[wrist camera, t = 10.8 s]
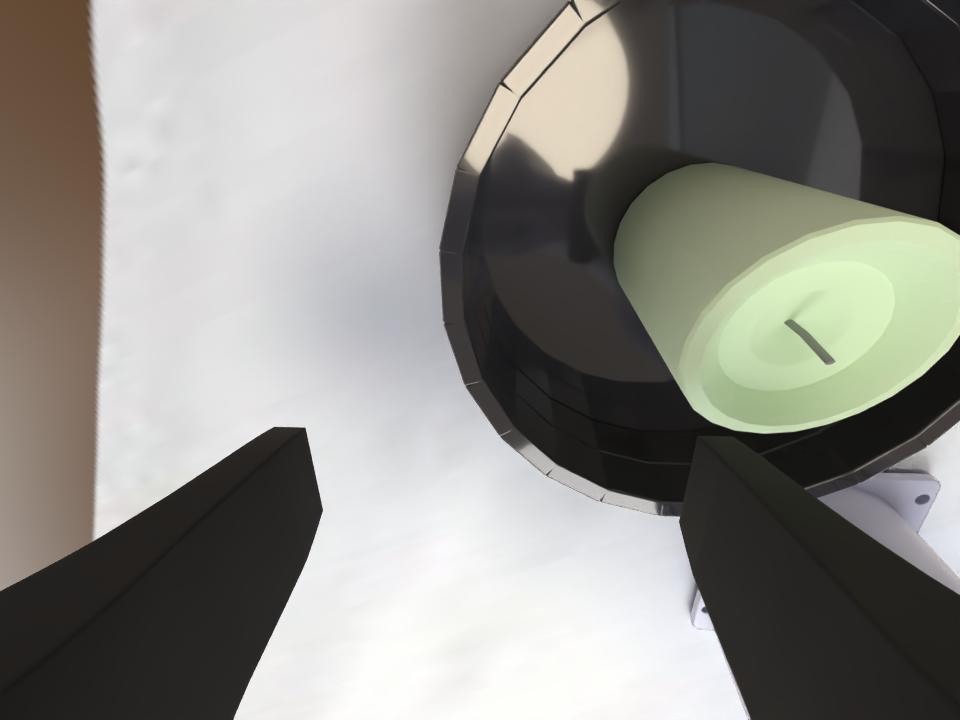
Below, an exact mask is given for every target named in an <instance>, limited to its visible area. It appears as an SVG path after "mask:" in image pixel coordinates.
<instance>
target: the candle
mask: <svg viewBox="0 0 960 720" xmlns="http://www.w3.org/2000/svg"><path fill="white" fill-rule="evenodd" d="M614 267H615V271H616V275H617V278H618V282H619V284H620V286H621V287H622V289H623V291H624V293H625V294H626V296H627V298H628V299H629V301H630V303H631V305H632V306H633V308H634V310H635V311H636V313H637V315H638V317H639V318H640V320H641V322H642V323H643V325H644V327H645V329H646V330H647V332H648V334H649V335H650V337H651V339H652V341H653V342H654V344H655V346H656V347H657V349H658V351H659V353H660V354H661V356H662V358H663V360H664V361H665V363H666V365H667V366H668V368H669V370H670V372H671V373H672V375H673V377H674V378H675V380H676V382H677V384H678V385H679V387H680V389H681V390H682V392H683V394H684V395H685V397H686V398H687V400H688V402H689V403H690V405H691V406H692V408H693V409H694V410H695V411H696V412H698V413H699V414H701V415H702V416H703V417H705V418H706V419H707V420H709V421H710V422H712V423H715V424H718V425H720V426H723V427H726V428H729V429H732V430H736V431H745V432H754V433H763V434H766V433H782V432H795V431H800V430H805V429H809V428H814V427H819V426H823V425H827V424H830V423H833V422H836V421H839V420H841V419H844V418H847V417H850V416H852V415H855V414H858V413H861V412H862V411H864V410H866V409H868V408H870V407H872V406H874V405H876V404H878V403H880V402H882V401H884V400H886V399H888V398H890V397H892V396H893V395H895V394H896V393H898V392H899V391H901V390H902V389H903V388H905V387H906V386H908V385H909V384H911V383H912V382H914V381H915V380H916V379H918V378H919V377H921V376H922V375H923V374H924V373H925V372H926V371H928V370H929V369H930V368H931V367H932V366H933V365H934V364H935V363H936V362H937V361H938V360H939V359H940V358H941V357H942V356H943V355H944V354H945V353H946V352H948V351H949V349H950V348H951V347H952V345H953V344H954V342H955V341H956V340H957V338H958V337H959V335H960V235H958V234H956V233H955V232H953V231H952V230H950V229H948V228H947V227H945V226H943V225H942V224H940V223H938V222H935V221H931V220H928V219H924V218H920V217H917V216H913V215H909V214H906V213H902V212H899V211H895V210H891V209H888V208H884V207H880V206H877V205H873V204H870V203H866V202H862V201H859V200H855V199H851V198H848V197H844V196H840V195H837V194H833V193H830V192H826V191H822V190H819V189H815V188H811V187H808V186H804V185H801V184H797V183H793V182H790V181H786V180H782V179H779V178H775V177H771V176H768V175H764V174H761V173H757V172H753V171H750V170H746V169H742V168H739V167H735V166H730V165H724V164H719V163H703V164H693V165H688V166H685V167H683V168H680V169H677V170H674V171H672V172H669V173H667V174H665V175H664V176H662V177H661V178H659V179H658V180H656V181H655V182H653V183H652V184H650V185H649V186H647V187H646V188H645V190H644V191H643V192H642V193H641V194H640V195H639V196H638V197H637V198H636V199H635V200H634V201H633V202H632V203H631V205H630V207H629V208H628V210H627V212H626V214H625V215H624V217H623V219H622V220H621V222H620V225H619V228H618V232H617V235H616V239H615V242H614Z"/></svg>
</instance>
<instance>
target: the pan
mask: <svg viewBox="0 0 960 720" xmlns="http://www.w3.org/2000/svg"><path fill="white" fill-rule="evenodd" d="M703 163H719V164H724V165H730V166H735V167H739V168H742V169H746V170H750V171H753V172H757V173H761V174H764V175H768V176H771V177H775V178H779V179H782V180H786V181H790V182H793V183H797V184H801V185H804V186H808V187H811V188H815V189H819V190H822V191H826V192H830V193H833V194H837V195H840V196H844V197H848V198H851V199H855V200H859V201H862V202H866V203H870V204H873V205H877V206H880V207H884V208H888V209H891V210H895V211H899V212H902V213H906V214H909V215H913V216H917V217H920V218H924V219H928V220H931V221H935V222H938V223H940V224H942V225H943V226H945V227H947V228H948V229H950V230H952V231H953V232H955V233H956V234H958V235H960V0H570V1H568V2H566V4H565V5H564V6H563V7H562V8H561V9H560V11H559V12H558V13H557V14H556V15H555V17H554V18H553V19H552V20H551V21H550V22H549V24H548V25H547V26H546V27H545V28H544V29H543V31H542V32H541V33H540V34H539V35H538V36H537V38H536V39H535V40H534V41H533V42H532V43H531V45H530V46H529V47H528V48H527V49H526V50H525V52H524V53H523V54H522V55H521V56H520V57H519V59H518V60H517V61H516V62H515V63H514V65H513V66H512V67H511V68H510V69H509V70H508V72H507V73H506V74H505V75H504V76H503V77H502V79H501V81H500V82H499V83H498V85H497V87H496V89H495V91H494V93H493V95H492V97H491V99H490V101H489V103H488V105H487V107H486V109H485V111H484V113H483V115H482V117H481V119H480V121H479V123H478V125H477V127H476V129H475V131H474V133H473V135H472V137H471V139H470V141H469V143H468V145H467V147H466V149H465V151H464V153H463V155H462V157H461V159H460V161H459V163H458V165H457V169H456V171H455V176H454V181H453V186H452V190H451V195H450V200H449V204H448V209H447V214H446V219H445V223H444V228H443V233H442V238H441V242H440V247H439V249H440V252H439V258H440V275H441V293H442V310H443V321H444V327H445V330H446V333H447V336H448V339H449V341H450V344H451V347H452V350H453V353H454V356H455V359H456V362H457V365H458V368H459V371H460V373H461V376H462V379H463V382H464V384H465V385H466V388H467V390H468V391H469V393H470V394H471V396H472V397H473V398H474V400H475V401H476V403H477V404H478V406H479V407H480V409H481V410H482V411H483V413H484V414H485V416H486V417H487V419H488V420H489V421H490V423H491V424H492V426H493V427H494V429H495V430H496V432H497V433H498V434H499V436H501V438H502V439H503V440H504V441H505V442H506V443H508V444H509V445H510V446H511V447H512V448H514V449H515V450H516V451H517V452H518V453H520V454H521V455H522V456H523V457H524V458H525V459H527V460H528V461H529V462H530V463H531V464H533V465H534V466H535V467H536V468H537V469H539V470H540V471H541V472H542V473H543V474H544V475H546V476H548V477H550V478H552V479H554V480H556V481H558V482H560V483H562V484H564V485H566V486H568V487H570V488H572V489H574V490H576V491H578V492H580V493H582V494H584V495H586V496H588V497H590V498H592V499H594V500H597V501H601V502H603V503H607V504H612V505H616V506H620V507H624V508H629V509H633V510H637V511H641V512H645V513H650V514H654V515H660V516H675V517H680V515H681V511H682V506H683V501H684V497H685V492H686V488H687V483H688V478H689V474H690V469H691V464H692V460H693V455H694V450H695V446H696V441H697V436H722V437H734V438H736V439H737V440H739V441H740V442H742V443H743V444H745V445H746V446H747V447H749V448H750V449H752V450H753V451H754V452H756V453H757V454H758V455H760V456H761V457H762V458H764V459H765V460H766V461H768V462H769V463H771V464H772V465H773V466H775V467H776V468H777V469H779V470H780V471H781V472H783V473H784V474H785V475H787V476H788V477H789V478H791V479H792V480H793V481H795V482H796V483H797V484H799V485H800V486H801V487H803V488H804V489H805V490H807V491H808V492H809V493H811V494H812V495H813V496H815V497H816V498H820V497H823V496H826V495H829V494H831V493H834V492H837V491H840V490H843V489H846V488H849V487H852V486H855V485H858V484H859V483H862V482H864V481H866V480H868V479H870V478H871V477H873V476H875V475H877V474H879V473H880V472H882V471H884V470H886V469H888V468H890V467H891V466H893V465H895V464H897V463H899V462H901V461H902V460H904V459H906V458H908V457H910V456H911V455H913V454H915V453H917V452H919V451H921V450H922V449H924V448H926V447H927V445H930V444H932V443H933V442H934V441H935V440H937V439H938V438H939V437H940V436H942V435H943V434H944V433H945V432H947V431H948V430H949V429H950V428H952V427H953V426H954V425H955V424H957V423H958V422H959V421H960V335H959V337H958V338H957V340H956V341H955V342H954V344H953V345H952V347H951V348H950V349H949V351H948V352H946V353H945V354H944V355H943V356H942V357H941V358H940V359H939V360H938V361H937V362H936V363H935V364H934V365H933V366H932V367H931V368H930V369H929V370H928V371H926V372H925V373H924V374H923V375H922V376H921V377H919V378H918V379H916V380H915V381H914V382H912V383H911V384H909V385H908V386H906V387H905V388H903V389H902V390H901V391H899V392H898V393H896V394H895V395H893V396H892V397H890V398H888V399H886V400H884V401H882V402H880V403H878V404H876V405H874V406H872V407H870V408H868V409H866V410H864V411H862V412H861V413H858V414H855V415H852V416H850V417H847V418H844V419H841V420H839V421H836V422H833V423H830V424H827V425H823V426H819V427H814V428H809V429H805V430H800V431H795V432H782V433H766V434H763V433H754V432H745V431H736V430H732V429H729V428H726V427H723V426H720V425H718V424H715V423H712V422H710V421H709V420H707V419H706V418H705V417H703V416H702V415H701V414H699V413H698V412H696V411H695V410H694V409H693V408H692V406H691V405H690V403H689V402H688V400H687V398H686V397H685V395H684V394H683V392H682V390H681V389H680V387H679V385H678V384H677V382H676V380H675V378H674V377H673V375H672V373H671V372H670V370H669V368H668V366H667V365H666V363H665V361H664V360H663V358H662V356H661V354H660V353H659V351H658V349H657V347H656V346H655V344H654V342H653V341H652V339H651V337H650V335H649V334H648V332H647V330H646V329H645V327H644V325H643V323H642V322H641V320H640V318H639V317H638V315H637V313H636V311H635V310H634V308H633V306H632V305H631V303H630V301H629V299H628V298H627V296H626V294H625V293H624V291H623V289H622V287H621V286H620V284H619V282H618V278H617V275H616V271H615V267H614V242H615V239H616V235H617V232H618V228H619V225H620V222H621V220H622V219H623V217H624V215H625V214H626V212H627V210H628V208H629V207H630V205H631V203H632V202H633V201H634V200H635V199H636V198H637V197H638V196H639V195H640V194H641V193H642V192H643V191H644V190H645V188H646V187H647V186H649V185H650V184H652V183H653V182H655V181H656V180H658V179H659V178H661V177H662V176H664V175H665V174H667V173H669V172H672V171H674V170H677V169H680V168H683V167H685V166H688V165H693V164H703Z"/></svg>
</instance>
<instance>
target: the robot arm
mask: <svg viewBox="0 0 960 720" xmlns="http://www.w3.org/2000/svg"><path fill="white" fill-rule="evenodd" d="M940 487H941V485H940V482H939V481H938V480H937V479H935V478H934V477H933V476H932V475H929V474H912V473H879V474H877V475H875V476H873V477H871V478H870V479H868V480H866V481H864V482H862V483H859V484H858V485H855V486H852V487H849V488H846V489H843V490H840V491H837V492H834V493H831V494H829V495H826V496H823V497H820V498H816V497H815V496H813V495H812V494H811V493H809V492H808V491H807V490H805V489H804V488H803V487H801V486H800V485H799V484H797V483H796V482H795V481H793V480H792V479H791V478H789V477H788V476H787V475H785V474H784V473H783V472H781V471H780V470H779V469H777V468H776V467H775V466H773V465H772V464H771V463H769V462H768V461H766V460H765V459H764V458H762V457H761V456H760V455H758V454H757V453H756V452H754V451H753V450H752V449H750V448H749V447H747V446H746V445H745V444H743V443H742V442H740V441H739V440H737V439H736V438H734V437H722V436H697V441H696V446H695V450H694V455H693V460H692V464H691V469H690V474H689V478H688V483H687V488H686V492H685V497H684V501H683V506H682V511H681V515H680V520H679V523H680V527H681V531H682V535H683V539H684V543H685V547H686V551H687V555H688V558H689V562H690V566H691V569H692V573H693V576H694V579H695V581H696V584H697V587H698V589H697V593H696V597H695V601H694V605H693V609H692V613H691V622H692V625H693V626H694V627H695V628H697V629H700V630H714V631H715V633H716V636H717V639H718V641H719V644H720V647H721V649H722V652H723V655H724V657H725V660H726V663H727V665H728V668H729V670H730V673H731V676H732V678H733V681H734V684H735V686H736V689H737V692H738V694H739V697H740V700H741V702H742V705H743V708H744V710H745V713H746V716H747V718H748V720H960V578H959V577H958V576H957V575H956V574H955V573H954V572H953V571H952V570H951V569H950V568H949V567H948V566H947V565H946V563H945V562H944V561H943V560H942V559H941V558H940V557H939V556H938V555H937V554H936V553H935V552H934V551H933V550H932V549H931V548H930V546H929V545H928V544H927V543H926V542H925V541H924V540H923V539H922V538H921V537H920V536H919V535H918V534H917V533H918V531H919V529H920V527H921V525H922V523H923V521H924V520H925V518H926V516H927V514H928V512H929V510H930V508H931V506H932V504H933V502H934V500H935V498H936V496H937V494H938V492H939V490H940ZM322 512H323V508H322V504H321V499H320V494H319V489H318V485H317V480H316V475H315V471H314V466H313V461H312V457H311V452H310V447H309V443H308V438H307V433H306V429H305V428H297V427H273V428H272V429H270V430H268V431H266V432H264V433H263V434H261V435H260V436H258V437H256V438H255V439H253V440H252V441H250V442H248V443H247V444H245V445H244V446H242V447H241V448H239V449H238V450H236V451H235V452H233V453H232V454H230V455H229V456H227V457H226V458H224V459H223V460H221V461H220V462H218V463H217V464H215V465H214V466H212V467H211V468H209V469H208V470H206V471H205V472H203V473H202V474H200V475H199V476H197V477H196V478H194V479H193V480H191V481H190V482H188V483H187V484H185V485H184V486H182V487H181V488H179V489H178V490H176V491H175V492H173V493H171V494H170V495H168V496H167V497H165V498H164V499H162V500H160V501H159V502H157V503H155V504H154V505H152V506H151V507H149V508H147V509H146V510H144V511H142V512H141V513H139V514H138V515H136V516H134V517H133V518H131V519H129V520H128V521H126V522H125V523H123V524H121V525H120V526H118V527H116V528H115V529H113V530H112V531H110V532H108V533H107V534H105V535H103V536H102V537H100V538H98V539H96V540H95V541H93V542H91V543H90V544H88V545H86V546H84V547H83V548H81V549H79V550H77V551H75V552H73V553H72V554H70V555H68V556H66V557H65V558H63V559H61V560H59V561H57V562H55V563H53V564H52V565H49V566H48V567H46V568H44V569H42V570H40V571H38V572H36V573H34V574H33V575H31V576H29V577H27V578H25V579H23V580H21V581H20V582H17V583H15V584H13V585H11V586H9V587H7V588H6V589H4V590H2V591H0V720H233V719H234V716H235V714H236V711H237V709H238V707H239V704H240V702H241V700H242V697H243V695H244V693H245V690H246V688H247V686H248V683H249V681H250V679H251V677H252V675H253V673H254V671H255V669H256V667H257V664H258V662H259V660H260V658H261V656H262V654H263V652H264V650H265V648H266V646H267V644H268V641H269V639H270V637H271V635H272V633H273V631H274V629H275V627H276V625H277V623H278V620H279V618H280V616H281V614H282V612H283V610H284V608H285V606H286V604H287V602H288V600H289V597H290V595H291V593H292V591H293V589H294V587H295V585H296V582H297V580H298V578H299V576H300V574H301V572H302V569H303V567H304V565H305V563H306V561H307V558H308V555H309V552H310V549H311V546H312V543H313V540H314V538H315V534H316V531H317V528H318V525H319V521H320V518H321V515H322Z"/></svg>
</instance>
